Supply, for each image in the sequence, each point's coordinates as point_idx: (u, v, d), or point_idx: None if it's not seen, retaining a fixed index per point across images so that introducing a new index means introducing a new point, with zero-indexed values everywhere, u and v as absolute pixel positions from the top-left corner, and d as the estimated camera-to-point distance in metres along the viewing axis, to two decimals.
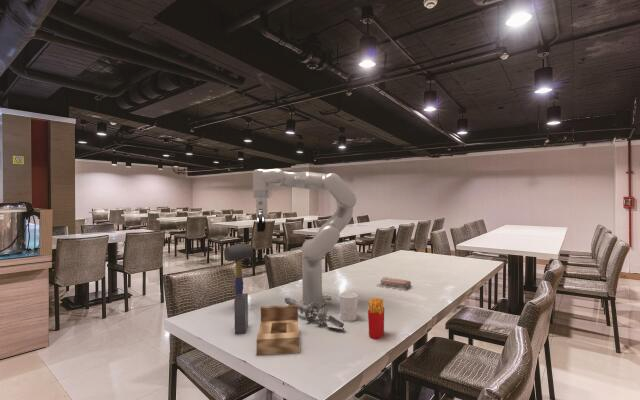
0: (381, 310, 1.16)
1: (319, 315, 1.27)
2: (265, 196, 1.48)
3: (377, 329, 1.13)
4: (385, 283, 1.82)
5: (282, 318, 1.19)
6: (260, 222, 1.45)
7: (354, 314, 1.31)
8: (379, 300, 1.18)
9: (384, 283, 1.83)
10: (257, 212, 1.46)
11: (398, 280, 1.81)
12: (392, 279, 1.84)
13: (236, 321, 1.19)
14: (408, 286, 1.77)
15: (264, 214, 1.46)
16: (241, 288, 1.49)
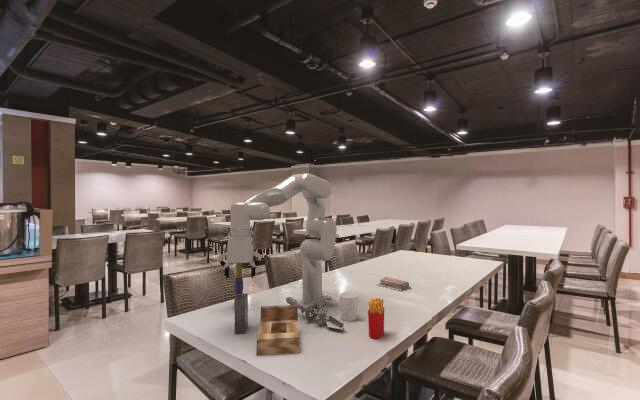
0: (381, 310, 1.16)
1: (319, 315, 1.27)
2: None
3: (377, 329, 1.13)
4: (384, 283, 1.83)
5: (282, 318, 1.19)
6: None
7: (354, 314, 1.31)
8: (379, 300, 1.18)
9: (383, 283, 1.84)
10: (252, 255, 1.23)
11: (396, 280, 1.80)
12: (391, 279, 1.83)
13: (236, 321, 1.19)
14: (405, 287, 1.75)
15: (253, 256, 1.26)
16: (241, 288, 1.49)
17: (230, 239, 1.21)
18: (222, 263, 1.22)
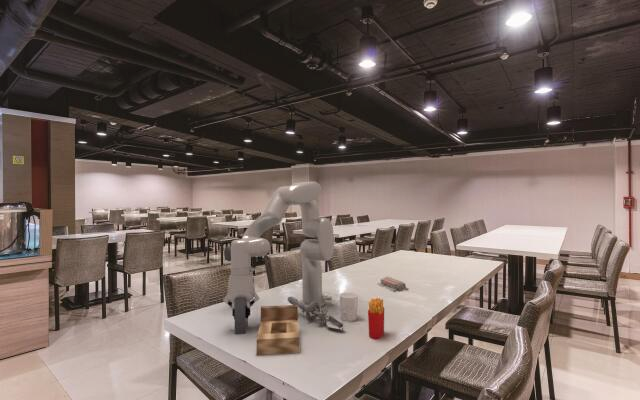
0: (381, 310, 1.16)
1: (319, 315, 1.28)
2: None
3: (377, 329, 1.13)
4: (383, 282, 1.85)
5: (282, 318, 1.19)
6: (250, 306, 1.24)
7: (354, 314, 1.31)
8: (379, 300, 1.18)
9: (382, 282, 1.85)
10: (253, 292, 1.23)
11: (394, 281, 1.80)
12: (391, 279, 1.83)
13: (236, 321, 1.19)
14: (399, 288, 1.74)
15: None
16: None
17: (231, 277, 1.21)
18: (230, 304, 1.22)
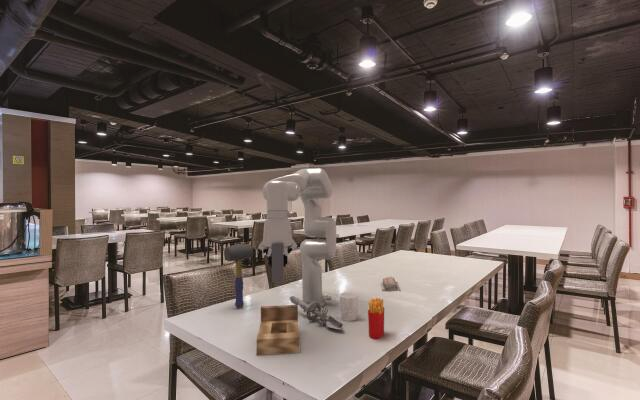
0: (381, 310, 1.16)
1: (320, 315, 1.28)
2: None
3: (377, 329, 1.13)
4: (383, 281, 1.87)
5: (282, 318, 1.19)
6: None
7: (354, 314, 1.31)
8: (379, 300, 1.18)
9: (383, 281, 1.87)
10: (291, 238, 1.11)
11: (389, 281, 1.80)
12: (389, 279, 1.83)
13: (273, 268, 1.08)
14: (389, 288, 1.74)
15: None
16: (241, 288, 1.49)
17: (267, 221, 1.10)
18: (266, 251, 1.11)
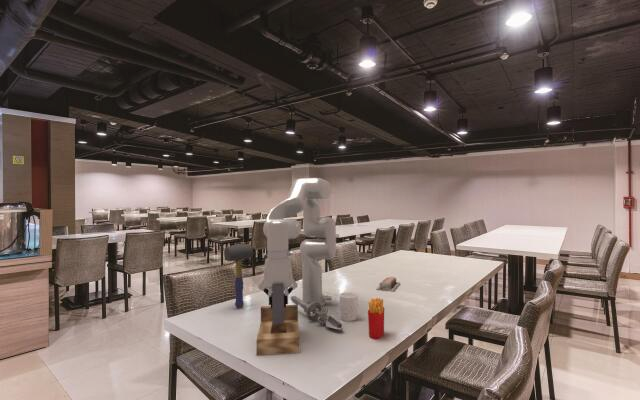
0: (381, 310, 1.16)
1: (320, 315, 1.28)
2: None
3: (377, 329, 1.13)
4: None
5: None
6: (288, 294, 1.12)
7: (354, 314, 1.31)
8: (379, 300, 1.18)
9: None
10: (292, 278, 1.11)
11: (386, 281, 1.80)
12: (388, 279, 1.84)
13: (274, 310, 1.08)
14: (383, 287, 1.75)
15: None
16: (241, 288, 1.49)
17: (268, 262, 1.10)
18: (266, 291, 1.11)
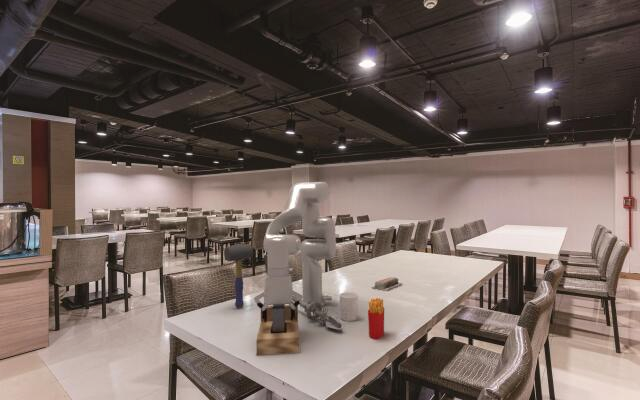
0: (381, 310, 1.16)
1: (320, 314, 1.28)
2: None
3: (377, 329, 1.13)
4: None
5: None
6: None
7: (354, 314, 1.31)
8: (379, 300, 1.18)
9: None
10: (292, 295, 1.11)
11: (384, 280, 1.81)
12: (388, 279, 1.84)
13: None
14: (377, 286, 1.77)
15: None
16: (241, 288, 1.49)
17: (268, 279, 1.10)
18: (260, 305, 1.11)
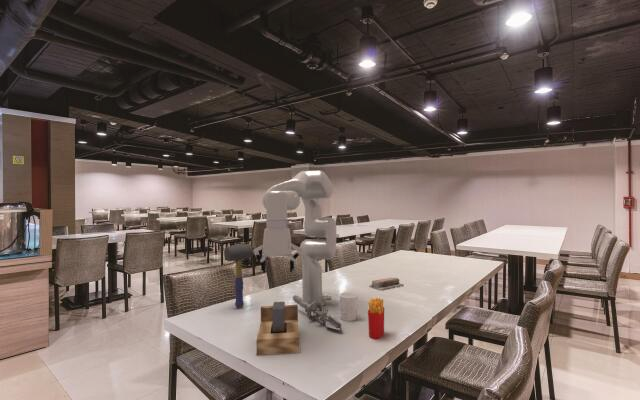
0: (381, 310, 1.16)
1: (320, 314, 1.28)
2: None
3: (377, 329, 1.13)
4: None
5: None
6: (294, 259, 1.14)
7: (354, 314, 1.31)
8: (379, 300, 1.18)
9: None
10: (291, 247, 1.13)
11: (382, 280, 1.83)
12: (387, 279, 1.85)
13: None
14: (373, 285, 1.80)
15: (291, 249, 1.16)
16: (241, 288, 1.49)
17: (267, 231, 1.11)
18: (258, 257, 1.12)
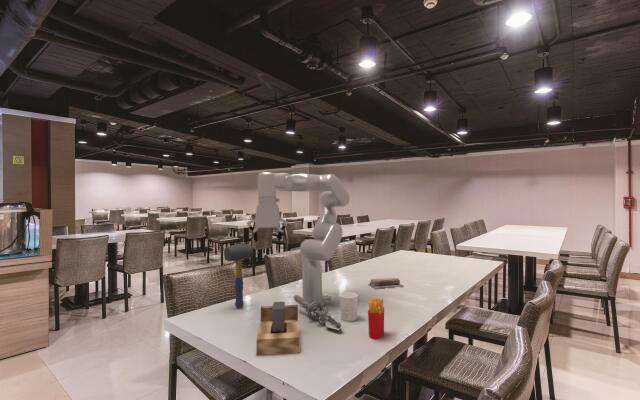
0: (381, 310, 1.16)
1: (320, 314, 1.28)
2: None
3: (377, 329, 1.13)
4: None
5: None
6: None
7: (354, 314, 1.31)
8: (379, 300, 1.18)
9: None
10: (279, 220, 1.33)
11: (381, 279, 1.84)
12: (387, 278, 1.85)
13: None
14: (370, 283, 1.84)
15: (279, 222, 1.36)
16: (241, 288, 1.49)
17: (258, 206, 1.32)
18: (251, 228, 1.32)
